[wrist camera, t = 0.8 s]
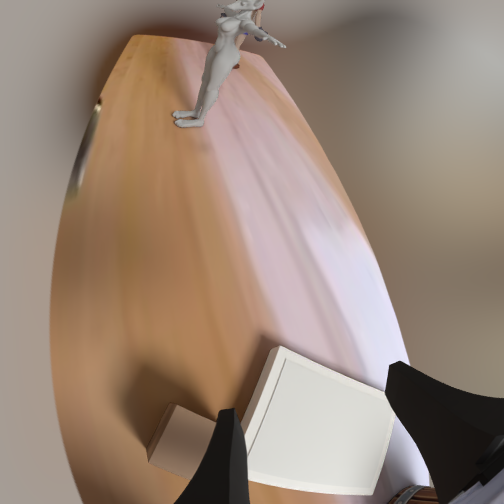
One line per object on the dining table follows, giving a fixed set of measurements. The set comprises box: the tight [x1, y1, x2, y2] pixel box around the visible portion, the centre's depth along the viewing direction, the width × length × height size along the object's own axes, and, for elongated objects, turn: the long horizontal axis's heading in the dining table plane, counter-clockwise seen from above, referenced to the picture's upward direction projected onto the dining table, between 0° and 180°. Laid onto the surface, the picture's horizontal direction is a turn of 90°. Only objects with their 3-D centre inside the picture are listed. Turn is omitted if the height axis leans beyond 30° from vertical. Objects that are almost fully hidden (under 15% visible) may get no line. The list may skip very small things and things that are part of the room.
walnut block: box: [146, 403, 216, 480], centre depth 16 cm, size 5×5×5 cm
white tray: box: [241, 345, 396, 495], centre depth 22 cm, size 13×18×2 cm
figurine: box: [173, 0, 286, 128], centre depth 29 cm, size 22×6×25 cm, turn 22°
